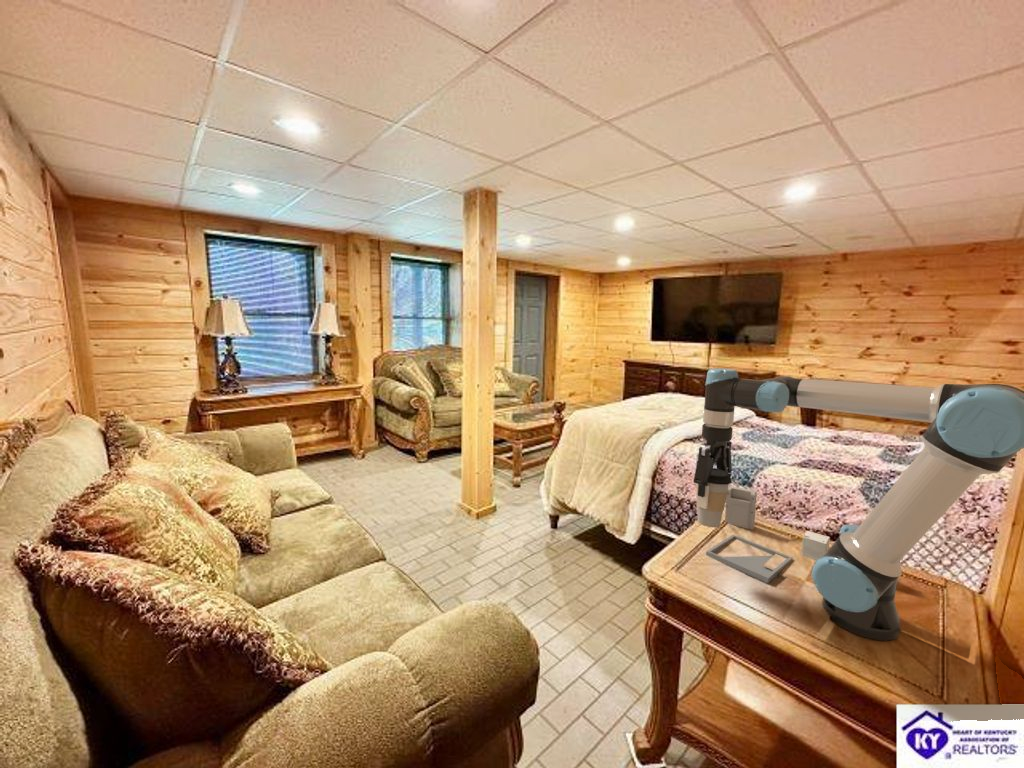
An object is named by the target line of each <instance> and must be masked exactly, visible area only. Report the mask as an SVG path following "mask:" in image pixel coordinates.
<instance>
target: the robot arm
mask: <svg viewBox="0 0 1024 768" xmlns="http://www.w3.org/2000/svg"><path fill="white" fill-rule="evenodd" d="M738 373H739V372H738V371H737V370H736V369H732V368H714V367H713V368H710V369H709V370H708V371H707V373H706V380H705V384H704V386H705V389H704V390H705V391H704V392H705V393H704V404H703V405H704V406H703V411H702V414H703V417H702V422H703V424H702V427H701V436H702V438H703V439H705V441H706V443H705V445H704V447H702V446H699V448H698V457H697V463H696V467H695V473H694V477H693V483H694V484H696V485H697V484H698V493H697V492H696V504H695V505H696V506H699V507H701V508H704V509H707V506H708V494H709V485H707V484H708V481H709V478H710V475H711V472H712V469H713V468H714V465H716V469H720V470H723V471H726V472H728V473H729V477H730V478H732V469H733V468H732V451H731V450H732V441H731V440H733V439H732V438H733V427H732V426H733V425H734V419H735V418H734V417H735V407H737V408H739V407H740V408H745V409H750V410H757V411H762V412H765V413H769V412H771V413H782V412H783V411H784V410H785V408H787V407H794V408H795V407H796V408H805V409H814V410H823V411H832V412H840V413H848V414H849V413H850V414H857V415H863V416H864V415H865V416H873V417H879V418H880V417H881V418H889V419H890V418H891V419H900V420H907V421H913V422H914V421H916V422H923V423H924V422H925V423H930V424H929V426H928V427H927V429H926V430H925V431H924V432H923V433H922V435H921V439H922V441H923V442H922V443H923V444H924V448H923V449H922V450H921V451H920V452H919V454H918V455H917V456H916V457H915V459H913V461H912V462H911V463H910V464H909V466H908V467H907V468H906V469H905V470H904V472H903V473H902V474H901V476H900V477H898V478H897V480H896V481H895V482H894V484H893V485H892V486H891V487H890V488H889V490H888V491H886V493H885V494H884V496H882V498H881V499H880V500H879V502H877V504H876V505H875V507H874V508H873V509H872V510H871V511H870V512H869V514H868V515H867V517H866V518H865V519H864V520H863V521H862V522H861V524H859V525H857V524H843V525H842V526H841V527H840V531H839V533H838V534H839V536H838V537H837V539H836V540H835V541H834V543H833V544H831V546H829V550H828V551H827V552H826V553H825V555H824V556H823V557H822V558H820V559H818V560H817V561H816V560H815V562H814V565H813V567H812V569H811V578H812V581H813V584H814V586H815V588H816V590H817V591H818V593H820V595H821V596H822V601H821V604H822V608H823V610H825V612H826V613H827V614H828V615H829V618H828V619H829V620H831V622H833V623H834V624H836V625H838V626H839V627H841V628H842V629H845V630H846V631H848V632H851V633H853V634H855V635H858V636H861V637H863V638H867V639H872V640H876V641H877V640H878V641H892V640H896V639H897V638H899V636H900V633H901V632H900V631H901V621H900V617H899V616H900V615H899V613H898V610H897V605H896V601H895V597H896V591H897V584H898V578H900V577H901V575H902V574H903V569H902V567H901V566H902V565H901V561H902V560H903V559H904V557H905V556H906V555H907V554H908V553H909V552H910V551H911V550H912V549H913V548H914V547H915V546H916V545H917V544H918V543H919V541H920V540H921V539H922V538H923V537H924V536H925V535H926V534H927V533H928V531H930V529H932V527H934V525H935V524H936V523H937V522H938V521H939V520H940V519H941V518H942V516H943V515H945V514H946V512H947V511H948V510H949V509H950V508H951V507H952V505H954V504H955V503H956V502H957V500H958V499H960V498H961V496H962V495H963V494H964V493H965V492H966V491H967V490H968V489H969V488H970V486H972V484H973V483H975V481H976V480H977V479H978V478H979V477H980V476H981V475H988V474H998V473H999V472H1000V471H1002V469H1003V468H1004V467H1005V466H1007V464H1008V463H1009V462H1010V461H1011V460H1012V459H1013V458H1014V456H1016V454H1017V453H1019V452H1020V451H1021V450H1023V449H1024V390H1023V389H1021V388H1018V387H1015V386H1013V385H1009V384H1003V383H979V384H978V383H977V384H975V383H974V384H958V383H957V384H956V383H954V384H953V383H942V384H939V386H937V387H927V386H913V385H912V386H911V385H900V384H899V385H898V384H887V383H886V384H884V383H869V382H868V383H867V382H857V381H855V382H854V381H842V380H840V381H839V380H827V379H812V378H811V379H810V378H800V377H799V378H798V377H797V378H796V377H793V376H783V375H782V376H781V375H780V376H777V377H772V378H765V379H749V378H741V377H739V374H738Z"/></svg>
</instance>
